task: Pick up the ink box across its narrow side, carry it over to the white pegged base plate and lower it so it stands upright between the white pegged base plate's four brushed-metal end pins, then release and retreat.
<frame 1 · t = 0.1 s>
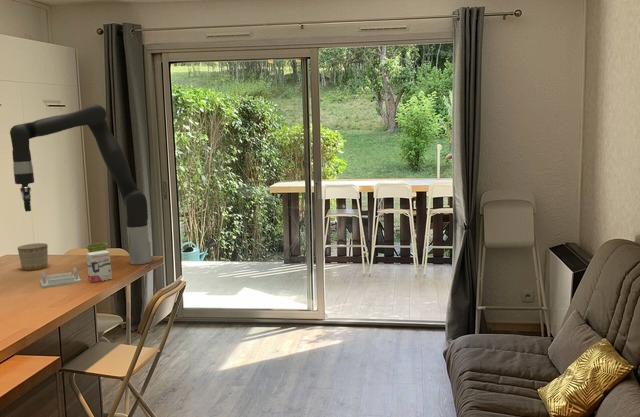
hand: (27, 210, 278), 29 cm above the table, fingers open, 8 cm apart
plant pot: (98, 263, 305), on the table
white pegged base plate: (60, 282, 270), on the table
ink box: (100, 280, 272), on the table
planter: (35, 268, 301), on the table
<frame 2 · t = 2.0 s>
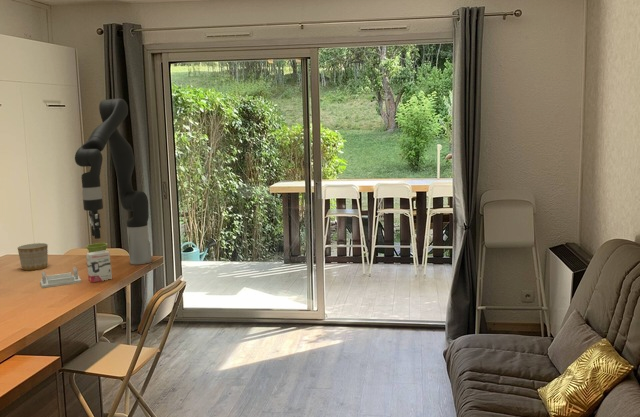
hand: (96, 237, 269), 18 cm above the table, fingers open, 8 cm apart
nothing on the table moved.
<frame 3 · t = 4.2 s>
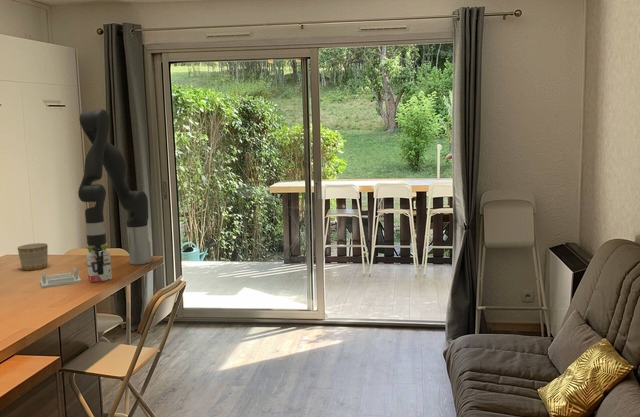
hand: (99, 272, 271), 3 cm above the table, fingers closed on ink box, 5 cm apart
ink box: (100, 280, 272), on the table, touching gripper
everything else where it was.
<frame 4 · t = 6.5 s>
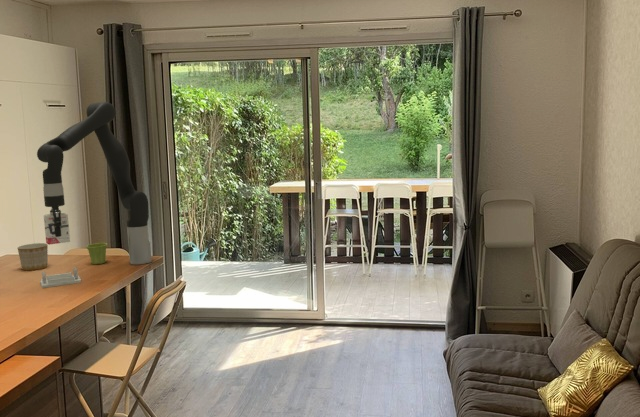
hand: (57, 235, 267), 20 cm above the table, fingers closed on ink box, 5 cm apart
ink box: (58, 243, 268), point 17 cm above the table, touching gripper
everything else where it was.
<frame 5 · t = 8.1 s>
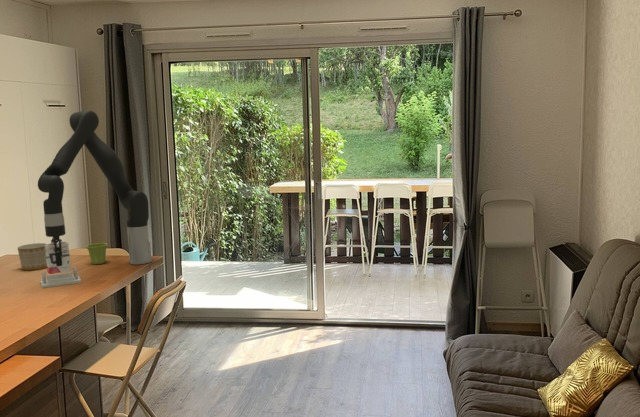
hand: (58, 264, 269), 8 cm above the table, fingers closed on ink box, 5 cm apart
ink box: (59, 272, 270), point 4 cm above the table, touching gripper
everything else where it was.
when the fingers open (5 cm above the table, at t = 9.1 s): ink box stays where it is, resting on white pegged base plate.
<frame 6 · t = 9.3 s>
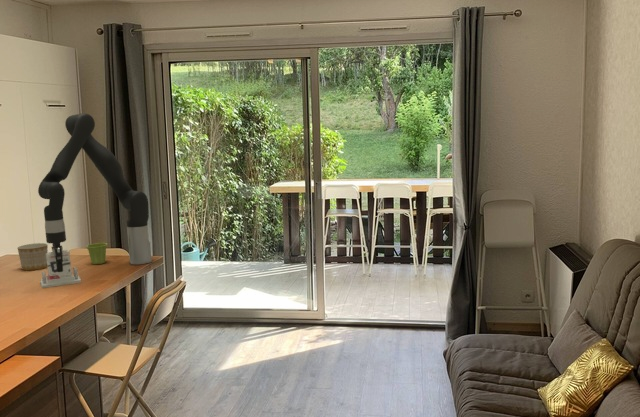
hand: (59, 270, 270), 5 cm above the table, fingers open, 7 cm apart
ink box: (60, 280, 270), point 1 cm above the table, touching white pegged base plate
everything else where it was.
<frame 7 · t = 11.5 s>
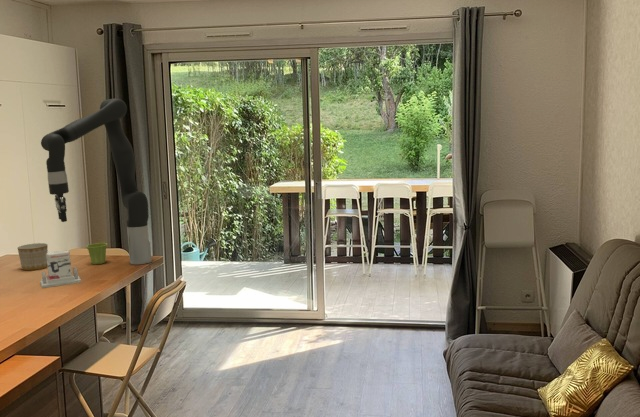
hand: (63, 220, 275), 25 cm above the table, fingers open, 8 cm apart
nothing on the table moved.
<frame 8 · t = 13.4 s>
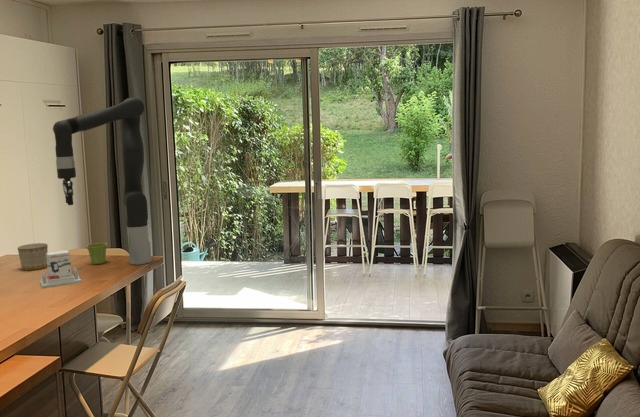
hand: (69, 204, 286), 30 cm above the table, fingers open, 8 cm apart
nothing on the table moved.
at the end: ink box 0.1 cm off-centre on the white pegged base plate, point 0.8 cm above the white pegged base plate's base; ink box tilted 0°; the gripper is holding nothing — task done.
